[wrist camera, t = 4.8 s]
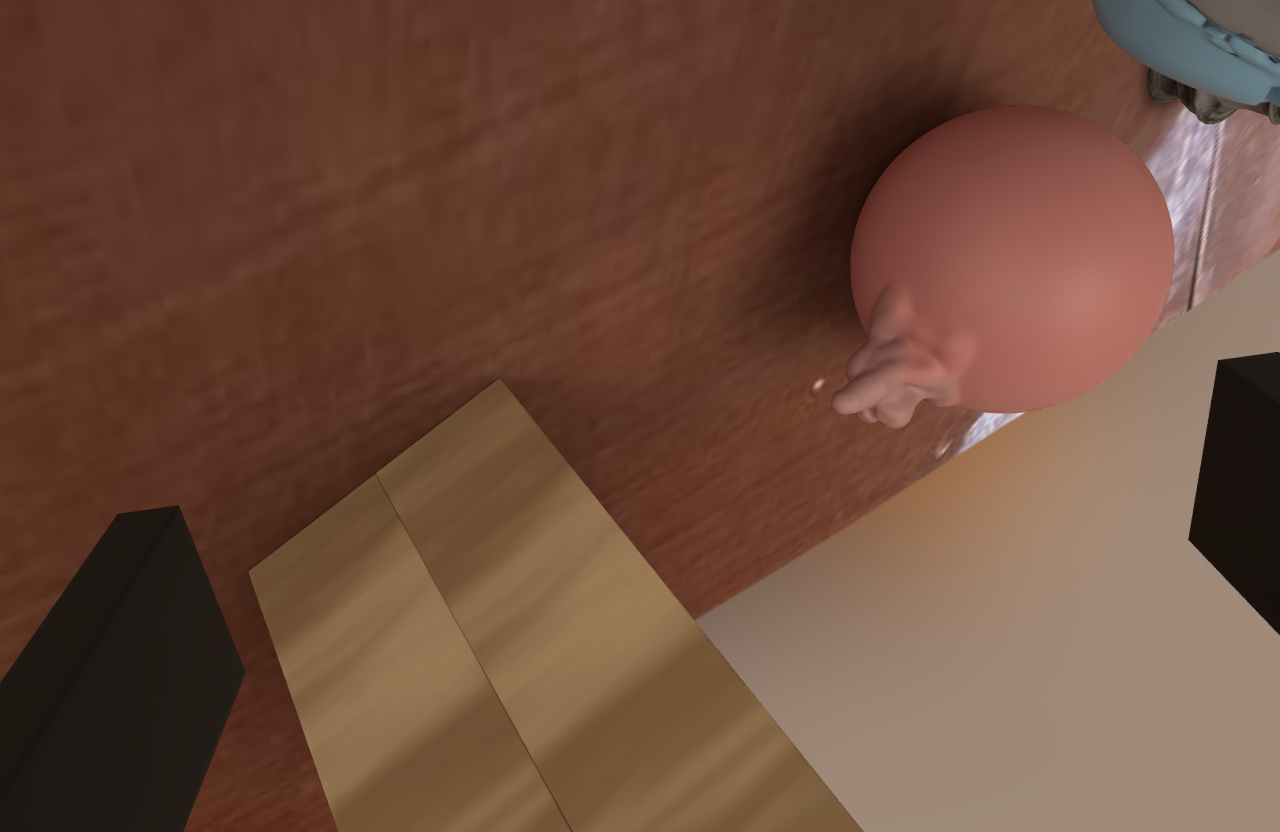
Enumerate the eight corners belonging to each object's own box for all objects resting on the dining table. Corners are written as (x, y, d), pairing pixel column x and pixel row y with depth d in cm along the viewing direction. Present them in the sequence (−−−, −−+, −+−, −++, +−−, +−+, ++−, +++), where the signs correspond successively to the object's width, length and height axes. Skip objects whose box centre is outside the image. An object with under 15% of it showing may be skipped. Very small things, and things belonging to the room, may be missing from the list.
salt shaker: (1180, 114, 65) (1364, 179, 57) (1130, 98, 62) (1318, 164, 54) (1229, 21, 63) (1429, 74, 55) (1179, -2, 60) (1385, 52, 51)
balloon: (694, 189, 49) (906, 334, 39) (1007, 19, 54) (1277, 105, 43) (748, 411, 60) (927, 574, 49) (1007, 253, 64) (1224, 371, 53)
